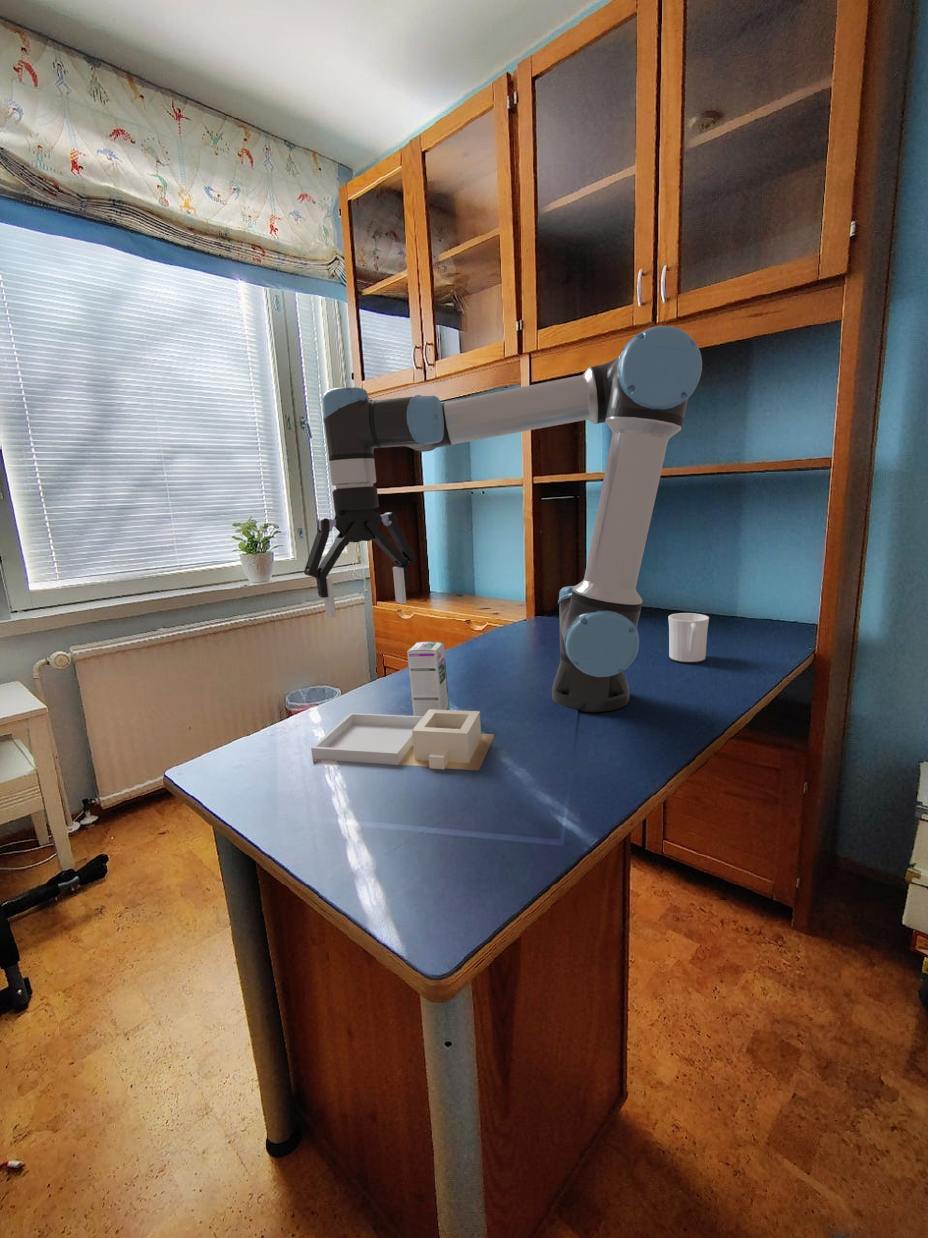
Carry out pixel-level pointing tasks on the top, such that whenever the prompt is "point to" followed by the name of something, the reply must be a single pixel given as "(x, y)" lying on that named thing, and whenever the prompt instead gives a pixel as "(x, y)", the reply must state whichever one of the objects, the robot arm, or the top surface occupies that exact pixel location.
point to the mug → (687, 637)
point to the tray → (368, 739)
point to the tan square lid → (472, 765)
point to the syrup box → (428, 677)
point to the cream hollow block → (446, 737)
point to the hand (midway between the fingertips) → (367, 609)
